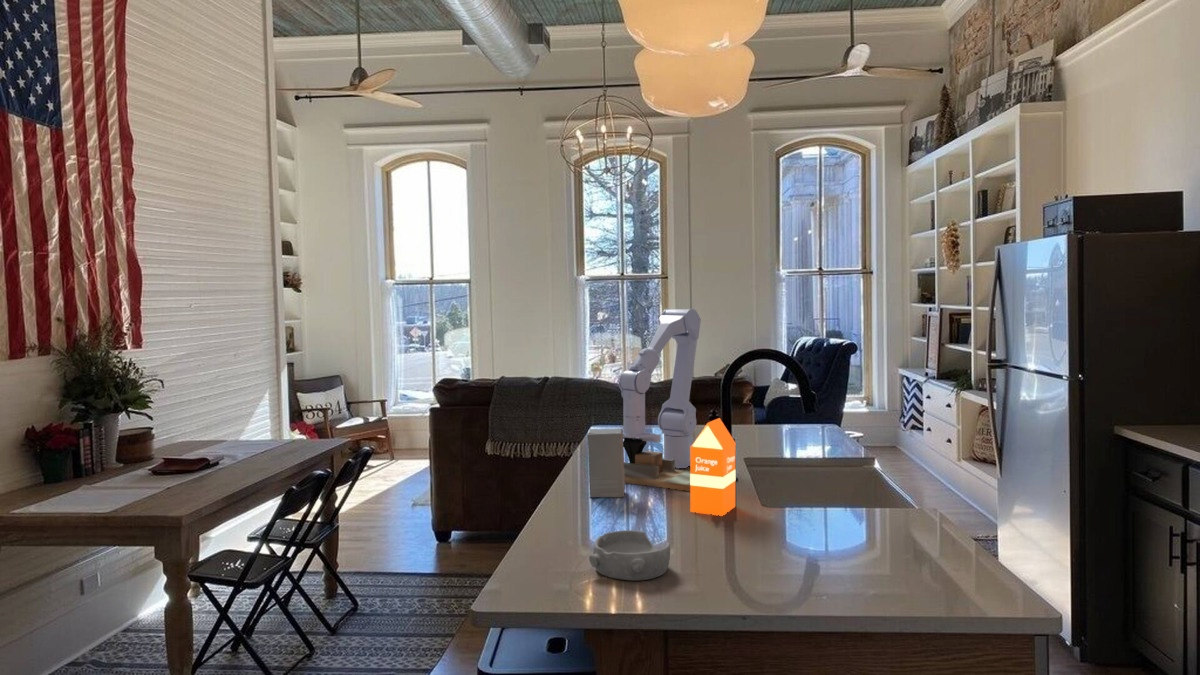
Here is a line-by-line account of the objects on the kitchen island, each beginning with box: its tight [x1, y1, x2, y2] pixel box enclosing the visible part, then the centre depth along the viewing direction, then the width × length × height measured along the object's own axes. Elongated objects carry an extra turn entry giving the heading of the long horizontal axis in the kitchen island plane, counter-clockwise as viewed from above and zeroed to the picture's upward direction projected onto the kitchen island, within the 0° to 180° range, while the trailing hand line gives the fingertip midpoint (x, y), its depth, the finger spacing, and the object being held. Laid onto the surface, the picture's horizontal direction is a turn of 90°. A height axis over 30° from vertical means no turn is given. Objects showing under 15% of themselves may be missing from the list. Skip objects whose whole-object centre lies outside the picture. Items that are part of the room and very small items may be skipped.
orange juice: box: [689, 417, 737, 517], centre depth 175 cm, size 8×9×20 cm
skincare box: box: [586, 427, 626, 498], centre depth 188 cm, size 8×7×16 cm
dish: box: [588, 529, 671, 581], centre depth 138 cm, size 14×14×5 cm
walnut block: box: [635, 450, 664, 473], centre depth 205 cm, size 6×5×5 cm
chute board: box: [624, 457, 690, 492], centre depth 204 cm, size 14×24×4 cm, turn 60°
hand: (634, 467), depth 207 cm, fingers closed
